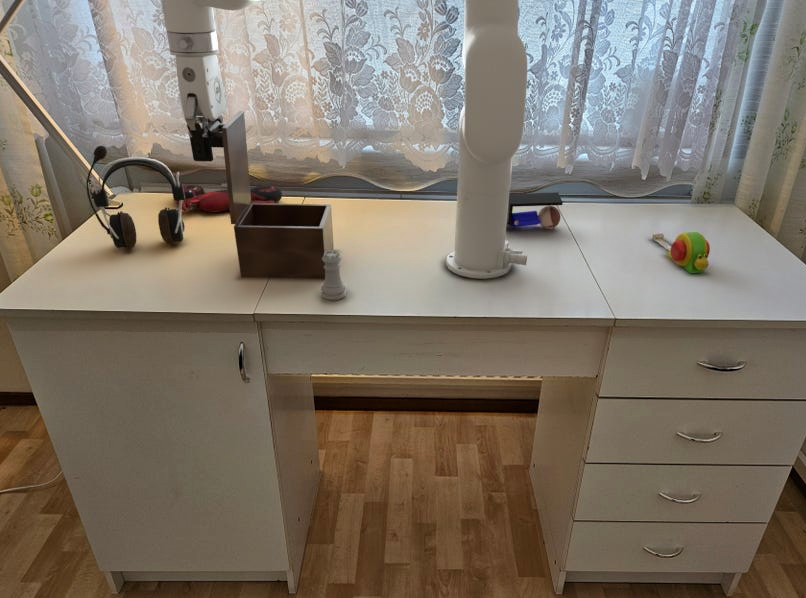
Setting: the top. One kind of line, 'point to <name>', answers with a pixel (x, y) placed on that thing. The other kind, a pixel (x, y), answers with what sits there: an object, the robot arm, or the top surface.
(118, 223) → the headset
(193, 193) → the toy motorcycle
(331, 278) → the rook chess piece
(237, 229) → the toy chest
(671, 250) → the toy measuring tape
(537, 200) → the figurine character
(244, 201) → the box lid
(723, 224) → the top surface
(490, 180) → the robot arm
